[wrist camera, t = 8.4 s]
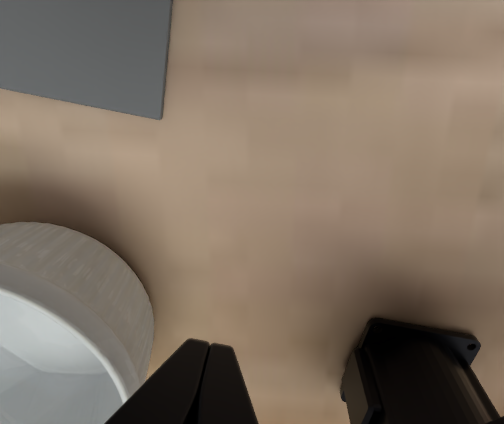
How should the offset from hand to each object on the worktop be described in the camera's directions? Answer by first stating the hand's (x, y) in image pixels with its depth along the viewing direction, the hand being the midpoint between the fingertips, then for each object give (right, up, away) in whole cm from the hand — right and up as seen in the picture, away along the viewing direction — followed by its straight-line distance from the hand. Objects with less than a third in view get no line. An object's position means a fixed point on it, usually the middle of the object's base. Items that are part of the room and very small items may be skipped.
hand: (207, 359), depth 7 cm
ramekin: (-10, -2, +16) cm, 19 cm away
